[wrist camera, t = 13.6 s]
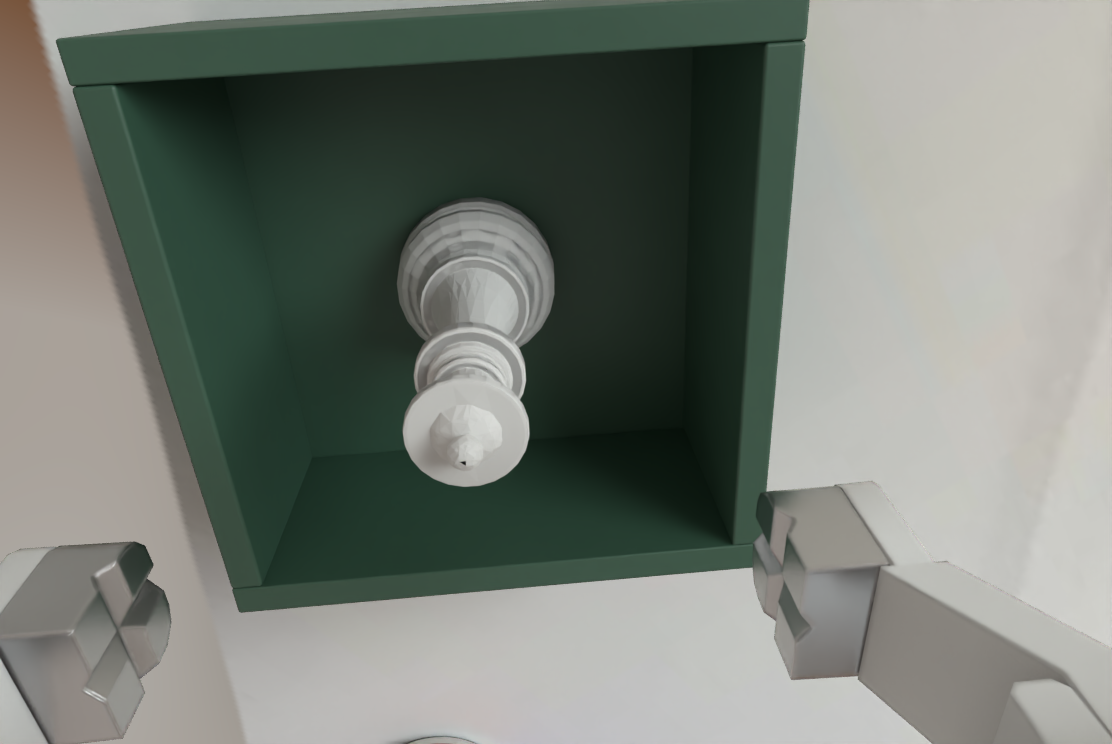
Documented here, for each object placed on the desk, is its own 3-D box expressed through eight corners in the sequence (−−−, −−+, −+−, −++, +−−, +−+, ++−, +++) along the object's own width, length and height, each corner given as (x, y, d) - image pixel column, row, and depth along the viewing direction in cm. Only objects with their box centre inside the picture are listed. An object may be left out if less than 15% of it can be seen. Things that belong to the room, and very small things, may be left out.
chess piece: (546, 343, 24) (576, 564, 15) (400, 335, 23) (339, 557, 14) (560, 201, 22) (604, 356, 13) (401, 189, 21) (330, 341, 12)
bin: (187, 22, 19) (53, 39, 14) (719, -11, 20) (811, -8, 14) (297, 469, 26) (238, 614, 20) (701, 436, 26) (760, 567, 20)
